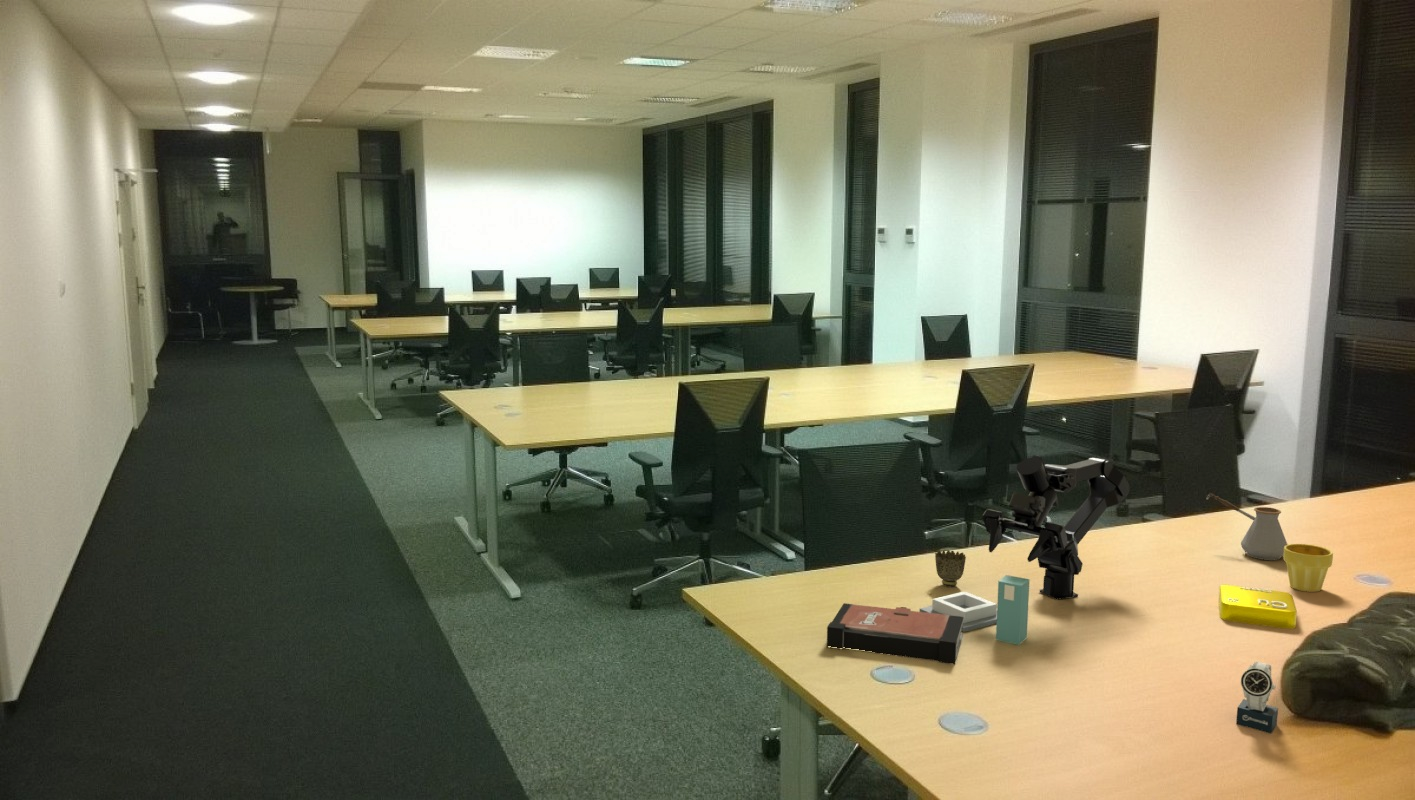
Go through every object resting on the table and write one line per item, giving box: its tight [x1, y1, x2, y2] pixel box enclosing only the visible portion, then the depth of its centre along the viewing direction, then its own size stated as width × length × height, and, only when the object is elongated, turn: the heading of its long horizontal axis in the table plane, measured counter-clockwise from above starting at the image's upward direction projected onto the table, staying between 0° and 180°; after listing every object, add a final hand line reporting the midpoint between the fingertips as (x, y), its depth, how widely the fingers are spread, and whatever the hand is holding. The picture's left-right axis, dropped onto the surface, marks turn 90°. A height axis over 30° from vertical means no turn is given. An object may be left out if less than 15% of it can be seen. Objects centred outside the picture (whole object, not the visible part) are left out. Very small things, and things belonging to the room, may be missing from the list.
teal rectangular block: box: [995, 574, 1030, 646], centre depth 218 cm, size 5×5×13 cm
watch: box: [1235, 661, 1279, 734], centre depth 179 cm, size 6×8×11 cm
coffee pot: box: [1205, 492, 1289, 561], centre depth 279 cm, size 21×12×15 cm, turn 46°
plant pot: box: [1283, 543, 1334, 593], centre depth 251 cm, size 10×10×10 cm
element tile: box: [1218, 584, 1298, 630], centre depth 233 cm, size 15×15×5 cm
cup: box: [934, 550, 967, 588], centre depth 253 cm, size 8×7×8 cm
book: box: [826, 602, 964, 665], centre depth 218 cm, size 26×18×5 cm
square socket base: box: [918, 591, 997, 633], centre depth 232 cm, size 14×14×4 cm
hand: (1008, 555), depth 228 cm, fingers open, 9 cm apart
